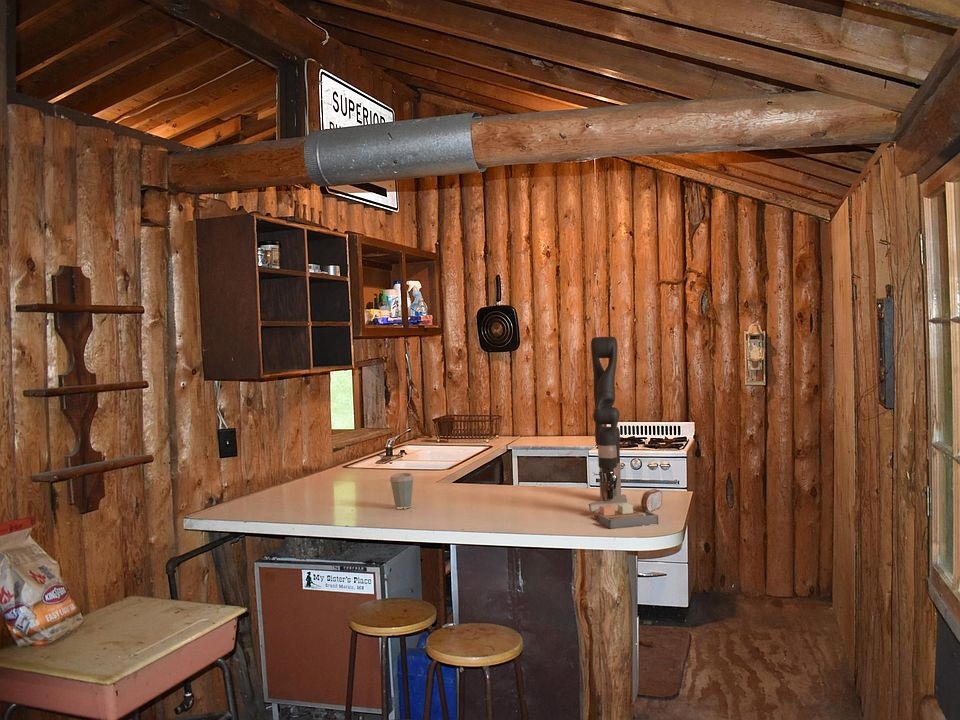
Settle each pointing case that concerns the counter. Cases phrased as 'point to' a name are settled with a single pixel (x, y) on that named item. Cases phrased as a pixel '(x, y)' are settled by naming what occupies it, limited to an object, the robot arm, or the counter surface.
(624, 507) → the cream block
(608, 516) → the walnut board
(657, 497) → the tin
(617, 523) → the box
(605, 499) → the cube on grey rod
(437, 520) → the counter surface
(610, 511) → the salmon pink cube
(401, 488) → the disposable coffee cup
